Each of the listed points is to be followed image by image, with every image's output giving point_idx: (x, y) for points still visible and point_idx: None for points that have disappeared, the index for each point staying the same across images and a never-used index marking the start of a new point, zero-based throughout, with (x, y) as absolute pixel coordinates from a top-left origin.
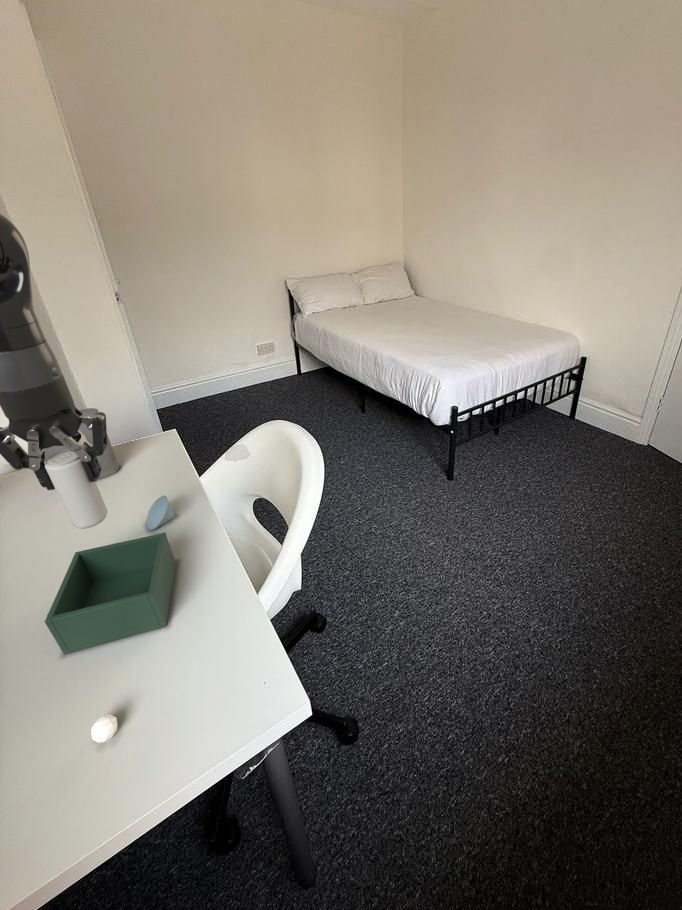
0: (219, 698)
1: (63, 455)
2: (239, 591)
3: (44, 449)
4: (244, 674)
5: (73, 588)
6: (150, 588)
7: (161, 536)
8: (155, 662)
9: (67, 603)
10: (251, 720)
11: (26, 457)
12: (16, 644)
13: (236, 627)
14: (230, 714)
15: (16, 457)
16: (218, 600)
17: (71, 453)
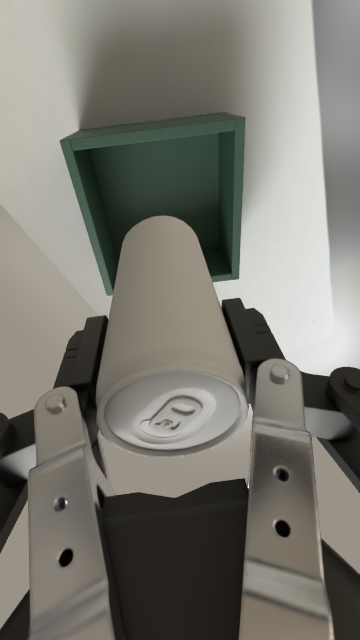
0: (275, 326)
1: (170, 413)
2: (317, 212)
3: (98, 470)
4: (299, 312)
5: (96, 214)
6: (234, 269)
7: (237, 132)
8: (218, 288)
9: (104, 243)
10: (296, 342)
11: (21, 462)
12: (39, 236)
13: (302, 265)
14: (282, 337)
15: (16, 516)
16: (287, 221)
17: (199, 399)
